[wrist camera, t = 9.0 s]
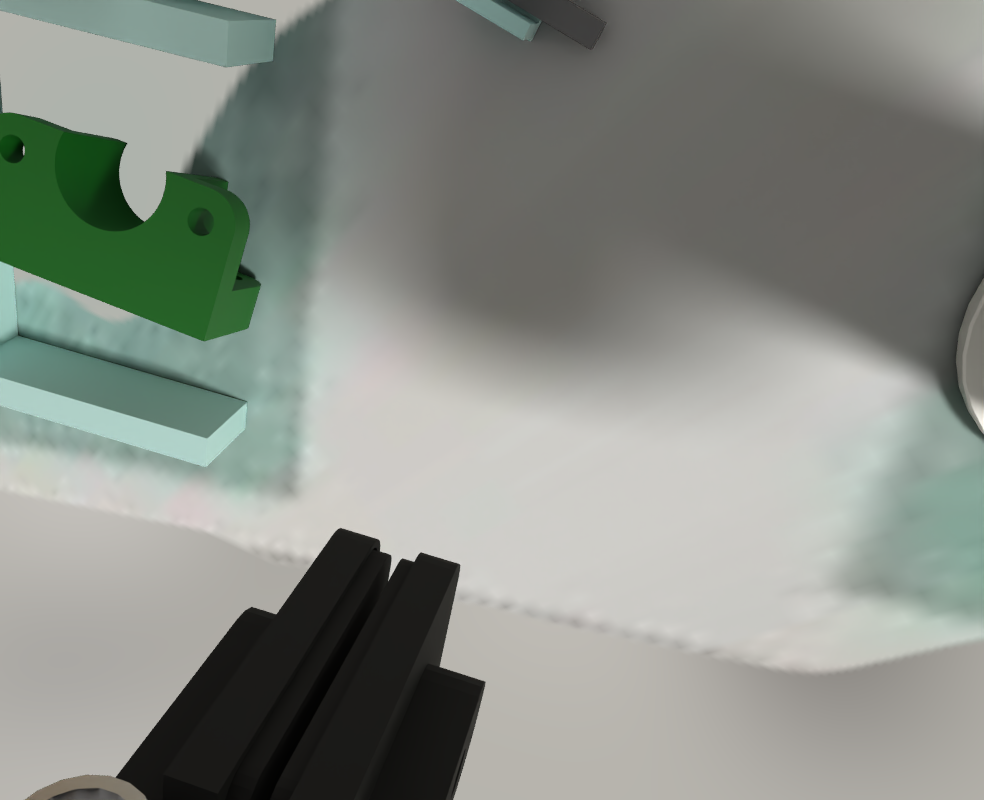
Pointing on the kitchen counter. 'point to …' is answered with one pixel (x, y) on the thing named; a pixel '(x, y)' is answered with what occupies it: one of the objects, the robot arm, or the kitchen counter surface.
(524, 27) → the clip
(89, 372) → the end holder
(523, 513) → the kitchen counter surface
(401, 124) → the kitchen counter surface
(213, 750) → the robot arm
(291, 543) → the kitchen counter surface
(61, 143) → the clamp
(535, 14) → the cable
